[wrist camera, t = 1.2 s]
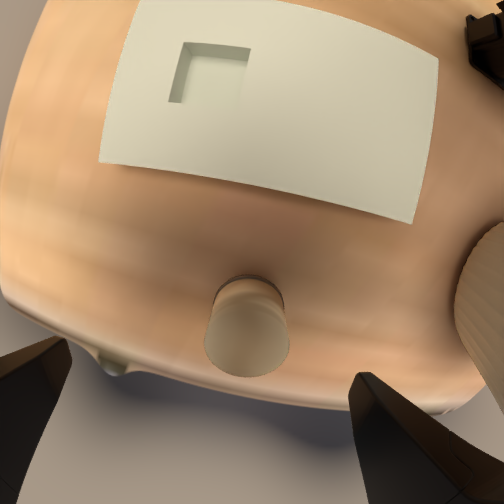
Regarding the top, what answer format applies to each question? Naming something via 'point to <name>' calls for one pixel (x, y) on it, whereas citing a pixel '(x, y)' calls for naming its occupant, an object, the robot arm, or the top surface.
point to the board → (274, 102)
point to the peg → (247, 327)
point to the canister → (484, 309)
